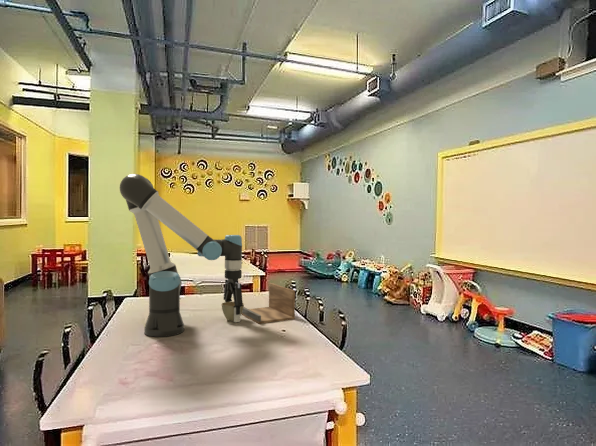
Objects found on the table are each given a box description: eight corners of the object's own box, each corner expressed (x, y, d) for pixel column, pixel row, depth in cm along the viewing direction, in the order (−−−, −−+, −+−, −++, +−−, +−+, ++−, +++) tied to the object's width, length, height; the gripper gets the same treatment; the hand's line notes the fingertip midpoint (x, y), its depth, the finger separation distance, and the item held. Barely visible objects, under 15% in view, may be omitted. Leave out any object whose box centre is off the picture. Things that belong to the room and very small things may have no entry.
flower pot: (241, 322, 180) (242, 306, 180) (219, 322, 181) (219, 305, 181) (245, 317, 190) (245, 301, 190) (223, 316, 191) (223, 301, 191)
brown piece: (258, 324, 179) (258, 294, 178) (237, 312, 199) (237, 285, 199) (294, 319, 188) (294, 290, 188) (270, 308, 209) (271, 282, 208)
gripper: (251, 272, 177) (250, 323, 178) (231, 266, 197) (231, 312, 197) (234, 273, 174) (234, 326, 174) (216, 266, 193) (216, 314, 193)
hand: (232, 319), depth 186 cm, fingers closed on flower pot, 10 cm apart
